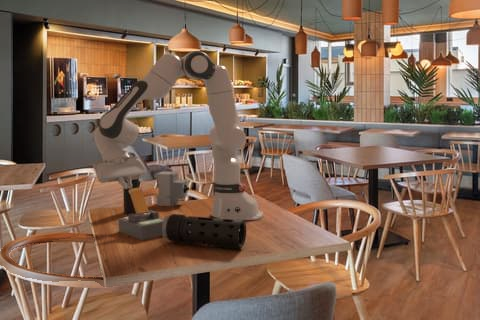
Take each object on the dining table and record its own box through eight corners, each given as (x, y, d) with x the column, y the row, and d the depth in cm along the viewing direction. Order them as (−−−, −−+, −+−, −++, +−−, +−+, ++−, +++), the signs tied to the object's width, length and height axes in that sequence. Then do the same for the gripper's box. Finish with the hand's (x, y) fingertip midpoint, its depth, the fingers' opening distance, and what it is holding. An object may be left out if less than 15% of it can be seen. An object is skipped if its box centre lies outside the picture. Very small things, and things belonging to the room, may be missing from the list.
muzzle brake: (237, 254, 169) (238, 223, 167) (161, 246, 177) (160, 216, 176) (246, 245, 178) (246, 216, 176) (173, 238, 186) (172, 210, 185)
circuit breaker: (186, 206, 237) (185, 174, 235) (157, 205, 240) (156, 173, 238) (191, 203, 245) (190, 172, 243) (162, 202, 247) (161, 171, 245)
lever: (137, 220, 191) (127, 190, 194) (148, 218, 195) (139, 188, 198) (139, 218, 190) (130, 188, 193) (151, 216, 194) (142, 187, 197)
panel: (118, 231, 195) (118, 212, 194) (145, 225, 203) (145, 207, 202) (141, 240, 184) (141, 219, 183) (169, 234, 192) (169, 214, 191)
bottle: (136, 210, 231) (135, 166, 228) (142, 213, 225) (140, 167, 222) (121, 211, 227) (120, 167, 225) (127, 215, 221) (125, 169, 219)
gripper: (93, 157, 196) (107, 185, 190) (140, 153, 209) (153, 180, 203) (88, 167, 199) (101, 195, 193) (134, 162, 213) (147, 189, 207)
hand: (128, 187), depth 199 cm, fingers closed
